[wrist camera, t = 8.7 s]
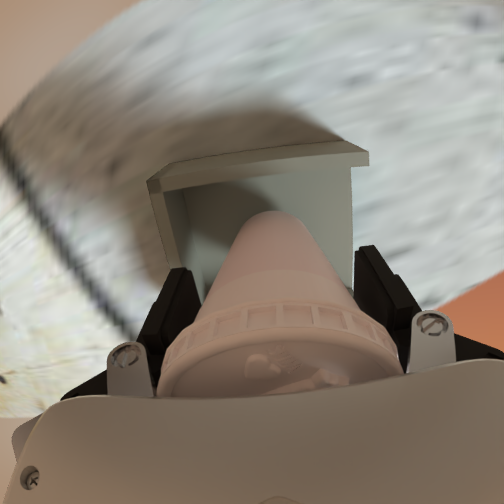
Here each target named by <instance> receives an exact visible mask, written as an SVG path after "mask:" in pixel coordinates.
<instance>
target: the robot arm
mask: <svg viewBox="0 0 504 504" xmlns="http://www.w3.org/2000/svg"><path fill="white" fill-rule="evenodd" d="M353 299H354V300H355V302H356V303H357V305H358V307H359V308H360V310H361V311H362V312H364V313H365V314H367V315H368V316H370V317H371V318H372V319H374V320H375V321H377V322H378V323H379V324H381V325H382V326H384V327H385V329H386V330H387V332H388V333H389V335H390V337H391V338H392V340H393V341H394V343H395V344H396V346H397V351H398V359H399V362H400V364H401V366H402V369H403V372H404V374H401V375H396V376H391V377H387V378H382V379H377V380H371V381H366V382H360V383H355V384H349V385H342V386H336V387H329V388H321V389H314V390H306V391H297V392H287V393H276V394H264V395H250V396H230V397H156V390H157V386H158V382H159V379H160V376H161V367H162V364H163V360H164V357H165V354H166V350H167V348H168V347H169V346H170V345H171V344H172V342H173V341H174V340H175V339H176V338H177V336H178V335H179V334H180V333H181V331H182V330H183V329H185V328H186V327H188V326H190V325H191V324H193V323H194V321H195V318H196V316H197V314H198V312H199V310H200V308H201V307H202V305H201V301H200V298H199V294H198V291H197V287H196V284H195V280H194V277H193V273H192V271H191V270H187V268H186V267H180V268H172V269H171V270H170V273H169V275H168V277H167V279H166V281H165V283H164V285H163V287H162V290H161V292H160V294H159V296H158V298H157V300H156V302H154V303H153V305H152V307H151V309H150V311H149V313H148V316H147V318H146V320H145V322H144V325H143V327H142V329H141V331H140V334H139V336H138V338H137V340H136V342H125V343H123V344H120V345H118V346H117V347H115V348H114V349H113V350H112V351H111V352H110V354H109V355H108V358H107V370H105V371H103V372H102V373H100V374H98V375H97V376H95V377H93V378H91V379H90V380H88V381H86V382H85V383H83V384H81V385H79V386H78V387H76V388H74V389H72V390H71V391H69V392H68V393H66V394H65V395H64V396H63V397H62V398H61V400H60V401H59V402H57V403H55V404H53V405H52V406H50V407H49V408H48V409H47V410H46V411H45V412H44V413H42V414H40V415H38V416H37V417H35V418H33V419H31V420H29V421H28V422H26V423H24V424H22V425H20V426H19V427H18V428H17V429H16V430H15V431H14V433H13V436H12V445H13V449H14V453H15V457H16V461H17V464H16V466H15V469H14V472H13V474H12V477H11V480H10V483H9V485H8V488H7V491H6V494H5V498H4V500H3V504H504V353H503V352H502V351H500V350H498V349H496V348H493V347H490V346H488V345H485V344H482V343H479V342H477V341H474V340H471V339H468V338H466V337H463V336H460V335H457V334H455V333H454V331H453V324H452V321H451V320H450V319H449V317H448V316H446V315H445V314H443V313H441V312H438V311H434V310H425V311H422V310H421V308H420V307H419V305H418V304H417V302H416V300H415V299H414V297H413V296H412V294H411V293H410V291H409V289H408V288H407V286H406V285H405V283H404V282H403V280H402V279H401V277H400V276H399V275H397V274H395V275H394V274H393V272H392V271H391V269H390V268H389V266H388V265H387V263H386V262H385V260H384V259H383V257H382V256H381V254H380V253H379V251H378V250H377V249H376V247H375V246H374V245H369V246H361V247H360V248H359V250H358V251H355V261H354V294H353Z"/></svg>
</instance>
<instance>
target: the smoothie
mask: <svg viewBox="0 0 504 504" xmlns="http://www.w3.org/2000/svg"><path fill="white" fill-rule="evenodd" d="M401 374H404V372H403V369H402V366H401V364H400V362H399V359H398V351H397V346H396V344H395V343H394V341H393V340H392V338H391V337H390V335H389V333H388V332H387V330H386V329H385V327H384V326H382V325H381V324H379V323H378V322H377V321H375V320H374V319H372V318H371V317H370V316H368V315H367V314H365V313H364V312H362V311H361V310H360V308H359V307H358V305H357V303H356V302H355V300H354V299H353V298H352V296H351V295H350V293H349V292H348V290H347V289H346V287H345V285H344V284H343V282H342V281H341V279H340V278H339V276H338V275H337V273H336V272H335V270H334V269H333V267H332V265H331V264H330V262H329V261H328V259H327V258H326V256H325V255H324V253H323V252H322V250H321V249H320V247H319V246H318V244H317V243H316V241H315V240H314V239H313V237H312V236H311V234H310V233H309V231H308V230H307V228H306V227H305V225H304V224H303V223H302V222H301V221H300V220H299V219H298V218H296V217H295V216H293V215H291V214H289V213H286V212H282V211H265V212H262V213H259V214H256V215H254V216H253V217H251V218H250V219H248V220H247V221H246V222H245V223H244V224H243V226H242V227H241V229H240V231H239V232H238V234H237V236H236V238H235V240H234V242H233V244H232V246H231V248H230V250H229V252H228V254H227V256H226V258H225V260H224V262H223V264H222V266H221V268H220V270H219V272H218V274H217V276H216V279H215V281H214V283H213V285H212V287H211V289H210V291H209V293H208V295H207V297H206V299H205V301H204V303H203V305H202V307H201V308H200V310H199V312H198V314H197V316H196V318H195V321H194V323H193V324H191V325H190V326H188V327H186V328H185V329H183V330H182V331H181V333H180V334H179V335H178V336H177V338H176V339H175V340H174V341H173V342H172V344H171V345H170V346H169V347H168V348H167V350H166V354H165V357H164V360H163V364H162V367H161V376H160V379H159V382H158V386H157V390H156V397H230V396H250V395H264V394H276V393H287V392H297V391H306V390H314V389H321V388H329V387H336V386H342V385H349V384H355V383H360V382H366V381H371V380H377V379H382V378H387V377H391V376H396V375H401Z"/></svg>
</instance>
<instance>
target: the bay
mask: <svg viewBox="0 0 504 504" xmlns="http://www.w3.org/2000/svg"><path fill="white" fill-rule="evenodd" d="M360 166H369V152H368V151H366V150H364V149H362V148H360V147H358V146H356V145H354V144H352V143H350V142H348V141H334V142H321V143H309V144H299V145H289V146H280V147H272V148H264V149H256V150H249V151H242V152H235V153H228V154H222V155H216V156H210V157H204V158H198V159H193V160H187V161H182V162H177V163H172V164H168V165H167V166H165V167H164V168H163V169H161V170H160V171H159V172H157V173H156V174H155V175H153V176H152V177H151V178H149V179H148V180H147V181H146V182H147V186H148V190H149V194H150V198H151V202H152V206H153V210H154V214H155V217H156V221H157V225H158V229H159V232H160V236H161V239H162V243H163V246H164V250H165V253H166V257H167V260H168V263H169V267H170V270H171V269H172V268H180V267H186V268H187V270H191V271H192V273H193V277H194V280H195V284H196V287H197V291H198V294H199V298H200V301H201V305H203V303H204V301H205V299H206V297H207V295H208V293H209V291H210V289H211V287H212V285H213V283H214V281H215V279H216V276H217V274H218V272H219V270H220V268H221V266H222V264H223V262H224V260H225V258H226V256H227V254H228V252H229V250H230V248H231V246H232V244H233V242H234V240H235V238H236V236H237V234H238V232H239V231H240V229H241V227H242V226H243V224H244V223H245V222H246V221H247V220H248V219H250V218H251V217H253V216H254V215H256V214H259V213H262V212H265V211H282V212H286V213H289V214H291V215H293V216H295V217H296V218H298V219H299V220H300V221H301V222H302V223H303V224H304V225H305V227H306V228H307V230H308V231H309V233H310V234H311V236H312V237H313V239H314V240H315V241H316V243H317V244H318V246H319V247H320V249H321V250H322V252H323V253H324V255H325V256H326V258H327V259H328V261H329V262H330V264H331V265H332V267H333V269H334V270H335V272H336V273H337V275H338V276H339V278H340V279H341V281H342V282H343V284H344V285H345V287H346V289H347V290H348V292H349V293H350V295H351V296H352V298H353V294H354V292H353V290H352V260H353V224H352V188H351V167H360Z"/></svg>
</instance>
